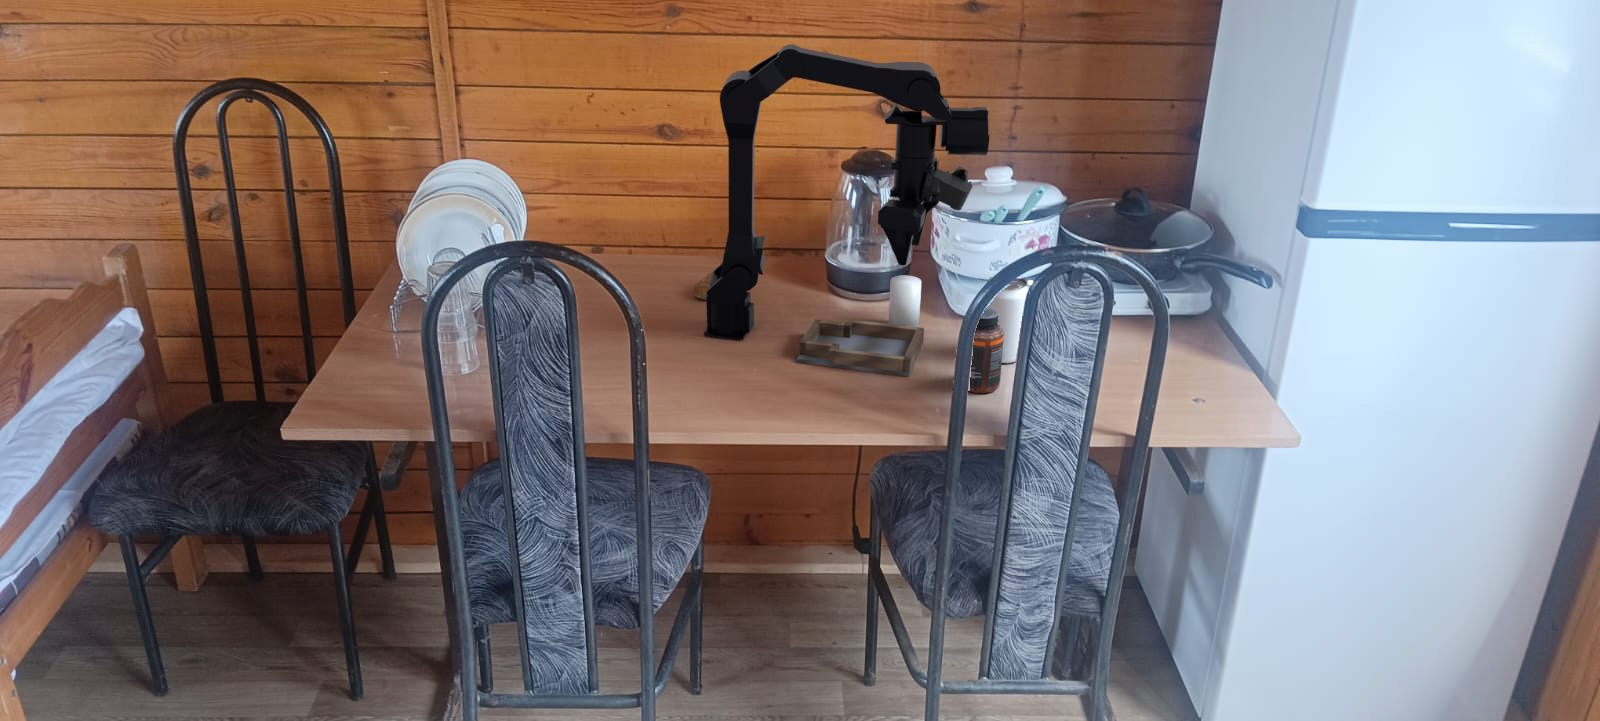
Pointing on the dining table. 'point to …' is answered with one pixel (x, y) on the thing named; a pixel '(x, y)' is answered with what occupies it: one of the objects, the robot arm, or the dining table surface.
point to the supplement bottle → (987, 353)
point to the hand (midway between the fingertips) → (909, 254)
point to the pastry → (702, 287)
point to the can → (1010, 316)
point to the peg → (905, 300)
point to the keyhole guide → (862, 346)
